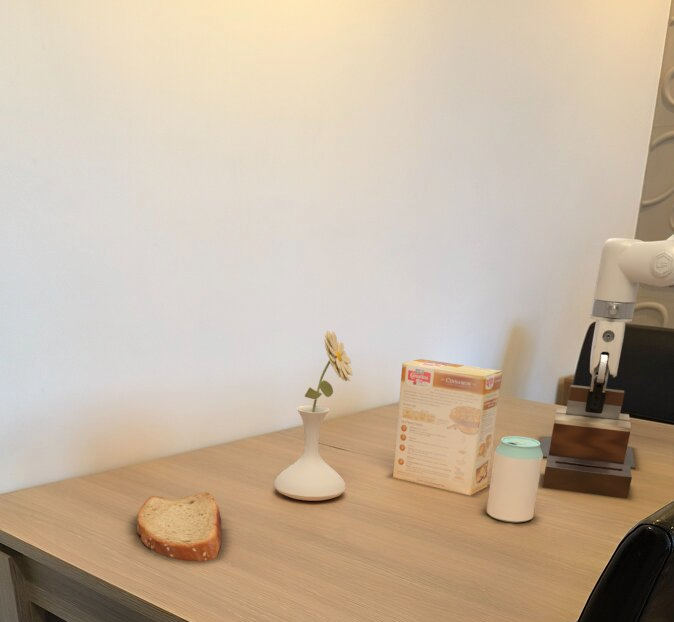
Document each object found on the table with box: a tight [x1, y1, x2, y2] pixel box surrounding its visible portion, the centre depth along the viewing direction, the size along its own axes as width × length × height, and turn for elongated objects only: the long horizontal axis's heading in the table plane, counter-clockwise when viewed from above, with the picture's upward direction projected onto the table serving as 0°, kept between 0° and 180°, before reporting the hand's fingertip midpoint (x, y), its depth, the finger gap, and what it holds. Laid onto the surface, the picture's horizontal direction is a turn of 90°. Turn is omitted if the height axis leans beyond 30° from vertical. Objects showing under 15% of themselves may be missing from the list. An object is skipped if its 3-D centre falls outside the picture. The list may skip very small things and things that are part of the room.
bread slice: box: [136, 491, 222, 563], centre depth 114 cm, size 18×18×4 cm
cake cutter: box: [566, 384, 625, 420], centre depth 161 cm, size 10×2×12 cm, turn 74°
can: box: [486, 435, 544, 524], centre depth 124 cm, size 7×7×12 cm
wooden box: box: [540, 406, 636, 470], centre depth 162 cm, size 18×16×7 cm
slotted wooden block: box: [541, 455, 633, 500], centre depth 142 cm, size 14×7×4 cm, turn 74°
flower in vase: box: [273, 330, 353, 502], centre depth 127 cm, size 13×11×25 cm
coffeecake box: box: [392, 358, 503, 496], centre depth 137 cm, size 15×7×20 cm, turn 57°
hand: (593, 410), depth 160 cm, fingers closed on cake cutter, 2 cm apart
